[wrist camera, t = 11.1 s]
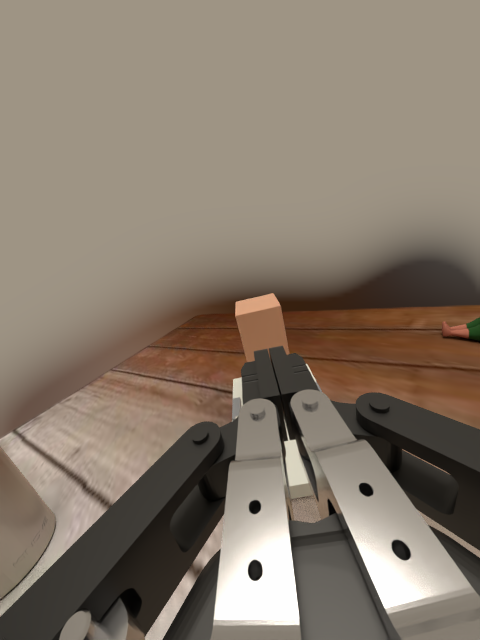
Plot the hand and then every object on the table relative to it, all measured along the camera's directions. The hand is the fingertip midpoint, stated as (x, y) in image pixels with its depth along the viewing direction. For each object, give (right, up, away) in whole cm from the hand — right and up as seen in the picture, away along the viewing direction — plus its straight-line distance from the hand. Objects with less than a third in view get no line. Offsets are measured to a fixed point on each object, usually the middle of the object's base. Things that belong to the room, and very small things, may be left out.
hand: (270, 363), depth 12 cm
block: (+4, -10, +25) cm, 27 cm away
